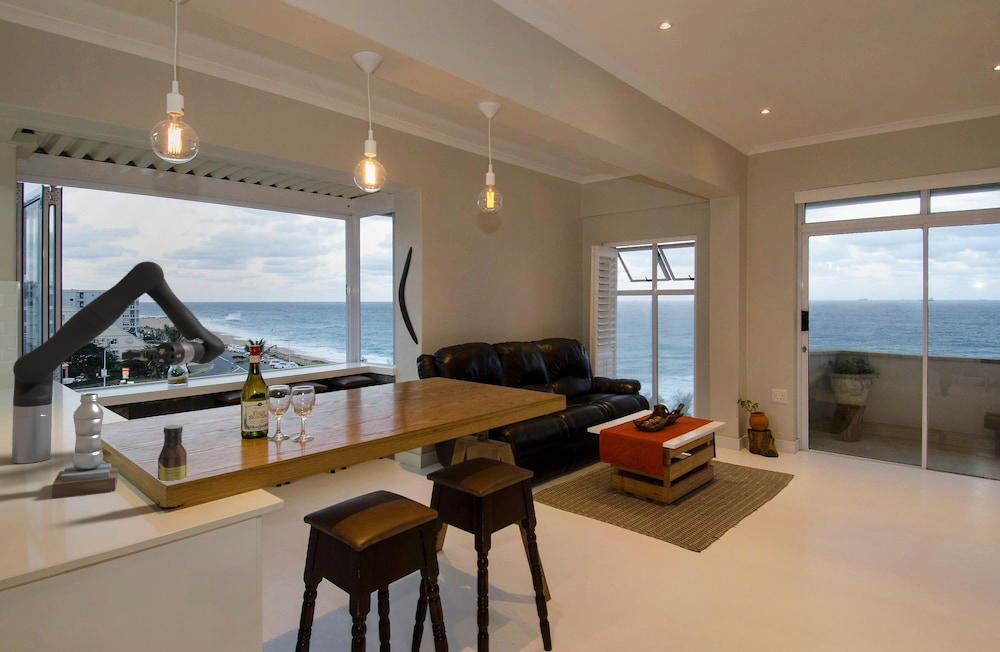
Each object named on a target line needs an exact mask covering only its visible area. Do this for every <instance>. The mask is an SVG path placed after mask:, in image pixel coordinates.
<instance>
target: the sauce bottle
mask: <svg viewBox="0 0 1000 652" xmlns="http://www.w3.org/2000/svg"><path fill="white" fill-rule="evenodd" d="M183 428H184V427H183V425H181V424H169V425H165V426H164V427H163V435H164V439H163V440H164V441H163V446H162V448H161V451H160V453H159V456H158V458H157V480H158V479H159V480H162V481H174V480H180V479H183V478H185V477H187V478H188V460H187V459H188V458H187V455H188V453H187V450H186V449H185V447H184V446H183V444H182V443H183V440H182V439H183V438H182V437H183V434H182V433H183V430H184V429H183ZM157 503H158V507H160V508H161V505H160V501H159V498H158V497H157Z"/></svg>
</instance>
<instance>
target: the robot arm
mask: <svg viewBox="0 0 1000 652" xmlns="http://www.w3.org/2000/svg"><path fill="white" fill-rule="evenodd" d="M144 294H146V295H148V296H149V297H150V298H151V299H152V300H153V301H154V302H155V304H156V305H158V306H159V308H161V310H162V311H163V313H164V314H165V315H166V316H167V318H168V320H169V321H170V322H171V323H172V325H173V326H174V327H175V328H176V329H177V331H178V332H179V333H180V335H182V337H183V338H184V340H186V341H168V342H167V341H166V342H161V343H160V344H158V345H157V347H156V348H155V347H153V348H147V349H146V348H144V349H143V348H141V349H134V350H132V349H129V350H127V351H123V352H121V359H122V360H126V361H127V360H133V361H135V360H140V361H148V362H157V363H158V364H159V365H161V366H164V367H170V366H179V365H185V364H190V363H194V364H198V365H207V364H208V363H211V362H212V361H214V360H215V359H217V358H218V357H220V356H221V355H223V353H225V351H226V347H225V344H224V341H223V340H222V339H221V338H219V337H218V336H216V335H215V334H214V333H212V332H211V331H210V330H208V329H207V328H206V327H204V325H203V324H202V323H201V322H200V321H199V319H198V318H197V317H196V316H195V314H194V313H193V312H192V311H191V310H190V309H189V308H188V307H187V306H186V305H185V304H184V303H183V302H182V301H181V300H180V299H179V298H178V297H177V296H176V294H175V293H174V292H173V290H172V289H171V287H170V286H169V284H168V283H167V280H166V279H165V274H164V269H163V268H162V267H161V266H160V265H159V264H158V263H156V262H154V261H142V262H138V263H137V264H135V265H134V266H133V267H132V268H131V269H130V270H129V271H128V272H127V273H126V275H125V276H123V278H122V279H120V281H118V282H117V283H116V284H114V285H113V286H111V288H109V289H107V290H106V291H105V292H103V293H101V294H100V295H99V296H97V297H95V298H94V299H93V300H92V301H90V302H89V303H87V304H86V305H85V306H83V307H82V308H81V309H80V310H78V311H77V312H76V313H74V315H72V316H71V317H70V318H69V319H68V320H66V322H65V323H64V324H63V325H61V327H59V329H58V330H57V331H56V332H55V333H54V334H53V335H52V336H51V337H49V339H48V340H46V341H45V342H43V343H42V344H40V345H39V346H38V347H36V348H35V349H32V350H31V351H29V352H27V353H24V354H22V355H21V356H19V357H18V359H17V360H16V361H15V362H14V364H13V367H12V368H13V369H12V370H13V371H12V372H13V374H14V375H13V376H14V380H13V381H14V382H13V395H12V396H13V397H12V435H11V438H12V440H11V462H12V463H14V464H30V463H38V462H44V461H47V460H49V459H51V458H52V430H53V429H52V428H53V427H52V426H53V425H52V423H53V422H52V421H53V419H52V417H53V393H54V387H53V385H54V372H55V371H56V370H57V369H58V368H59V366H61V365H62V364H63V363H64V362H65V361H66V360H67V359H68V358H69V357H71V355H73V354H74V353H76V352H77V351H79V350H80V349H81V348H84V346H86V345H87V344H88V345H89V344H90V343H91V342H92V341H93V340H94V339H96V338H98V337H99V336H100V335H102V333H104V332H105V331H106V330H108V329H109V328H110V327H111V326H113V325H114V323H116V321H117V320H118V319H119V318H120V317H121V316H122V315H123V314H124V313H125V312H126V310H127V309H128V308H129V307H130V306H131V305H132V303H134V302H135V301H137V300H138V299H139V298H141V297H142V296H143V295H144ZM196 339H199V340H200V341H202V342H201V343H200V342H198V341H193V340H196Z"/></svg>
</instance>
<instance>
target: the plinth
mask: <svg viewBox="0 0 1000 652" xmlns="http://www.w3.org/2000/svg"><path fill="white" fill-rule="evenodd" d="M117 479H119V465H114V466H113V465H112V462H105V463H104V462H102V464H101V465H100V466H99V467H96V468H92V469H88V470H81V469H76V468H75V467H74V466H73V465H69V466H65V468H64V469H63V470H59V472H58V473H57V475H56V476H55V479H54V480H53V483H52V485H51V499H60V498H68V497H77V496H79V497H80V496H88V495H97V494H105V492H106V493H112V492H111V491H115V492H116V489H117V483H118V480H117ZM87 494H88V495H87Z"/></svg>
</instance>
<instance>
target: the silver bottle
mask: <svg viewBox="0 0 1000 652" xmlns="http://www.w3.org/2000/svg"><path fill="white" fill-rule="evenodd" d="M98 401H99V394H98V393H83V394H80V400H79V402H80V405H79V406H78V407H77V408H76V409H75V411H74V412H73V416H72V417H73V422H74V423H73V424H74V429H75V443H74V452H73V454H72V460H71V462H72V466H74V467H75V468H76V469H81V470H88V469H92V468H96V467H99V466H100V465H101V464H102V463H103V459H104V453H103V450H102V439H101V436H102V434H101V432H102V428H103V427H102V426H103V419H104V414H105V413H104V410H103V409H102V407H101V406H100V405H99V403H98Z"/></svg>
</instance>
